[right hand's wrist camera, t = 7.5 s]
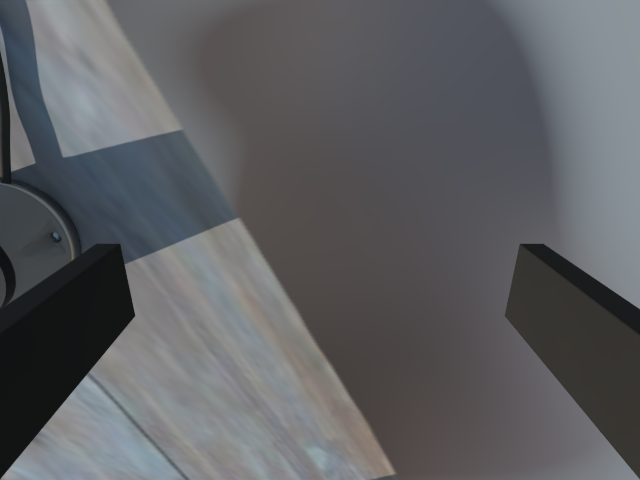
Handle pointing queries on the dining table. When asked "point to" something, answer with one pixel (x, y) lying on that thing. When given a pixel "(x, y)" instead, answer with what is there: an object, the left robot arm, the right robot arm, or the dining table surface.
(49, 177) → the dining table surface
